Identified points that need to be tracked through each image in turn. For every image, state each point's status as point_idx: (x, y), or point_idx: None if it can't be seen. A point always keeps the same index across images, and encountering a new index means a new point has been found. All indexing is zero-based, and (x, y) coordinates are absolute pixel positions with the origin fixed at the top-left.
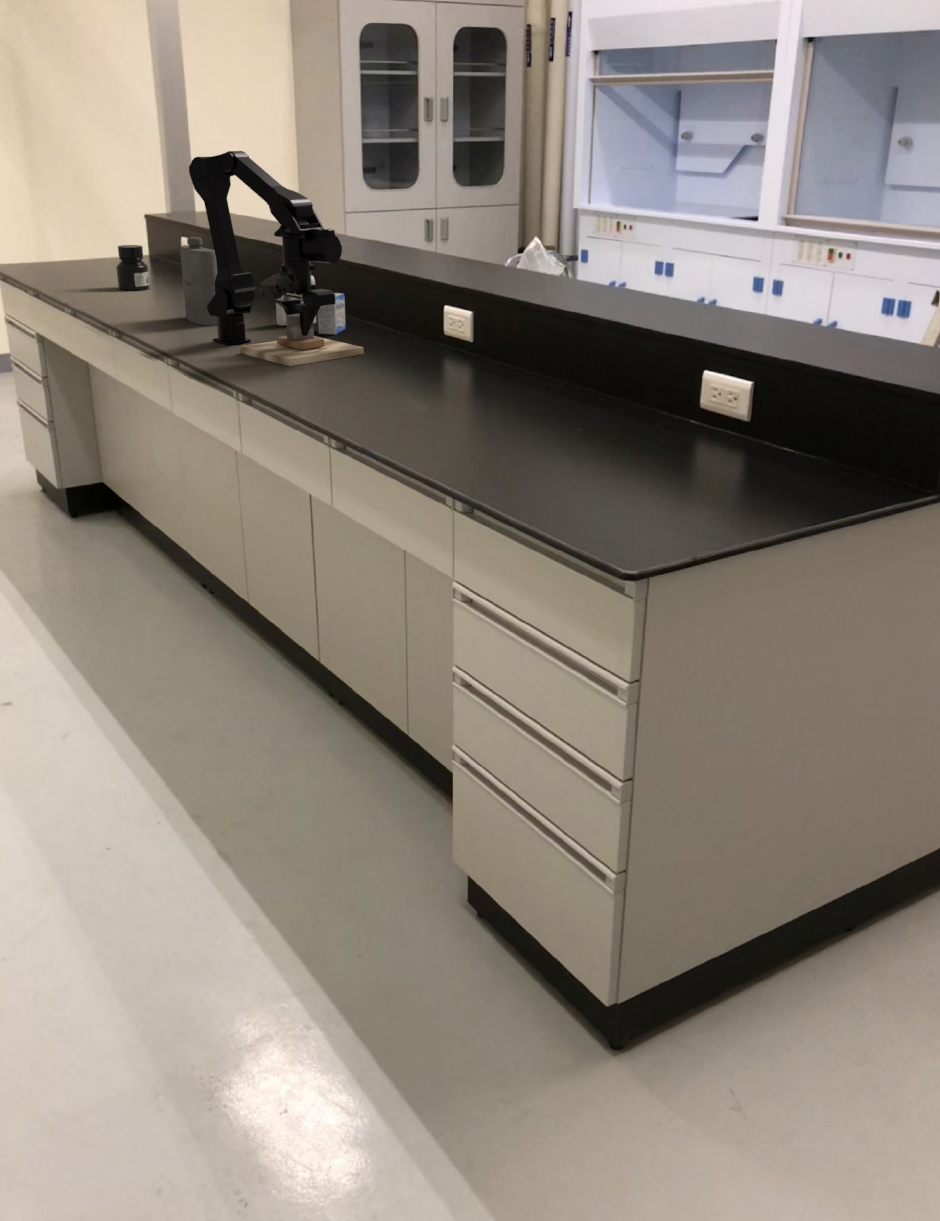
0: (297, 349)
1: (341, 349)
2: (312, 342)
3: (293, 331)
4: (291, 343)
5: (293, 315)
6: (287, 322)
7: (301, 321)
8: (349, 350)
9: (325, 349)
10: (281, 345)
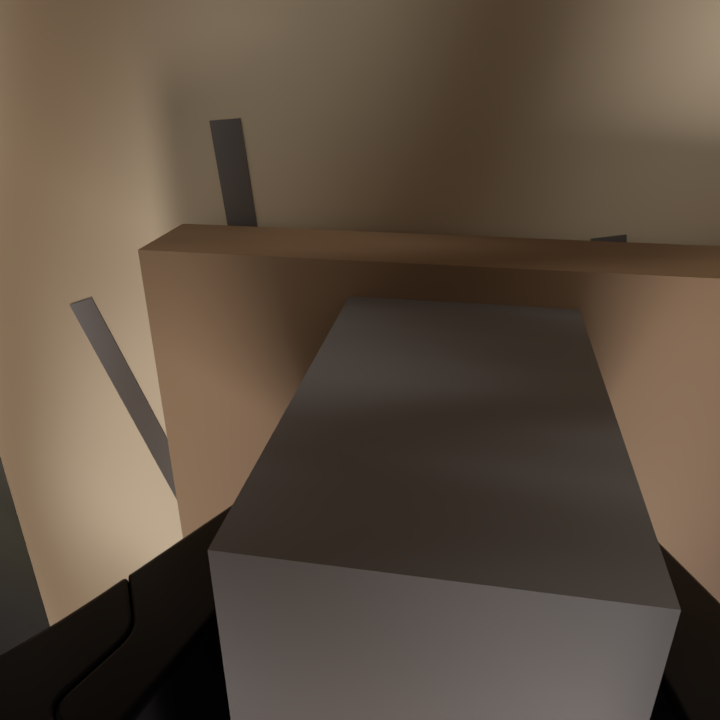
0: None
1: (76, 551)
2: (170, 411)
3: (360, 355)
4: (413, 248)
5: (458, 698)
6: (565, 458)
7: (195, 577)
8: (44, 579)
9: (146, 462)
10: None
